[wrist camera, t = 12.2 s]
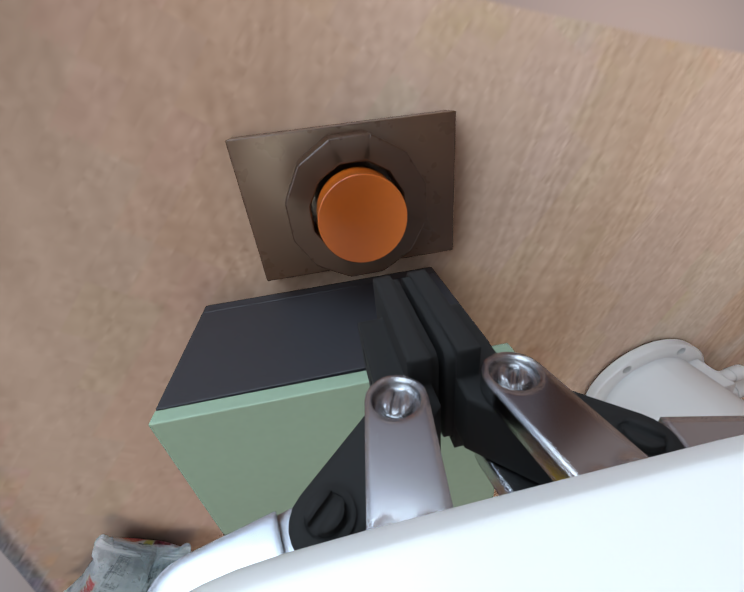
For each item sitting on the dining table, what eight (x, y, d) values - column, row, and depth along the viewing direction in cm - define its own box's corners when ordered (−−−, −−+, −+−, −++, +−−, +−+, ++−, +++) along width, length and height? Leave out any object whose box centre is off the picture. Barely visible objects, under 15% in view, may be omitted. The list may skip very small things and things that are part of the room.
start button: (395, 161, 17) (405, 167, 15) (400, 242, 19) (409, 255, 17) (308, 173, 16) (309, 181, 15) (324, 254, 19) (326, 269, 17)
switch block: (445, 110, 19) (472, 111, 16) (444, 241, 23) (465, 262, 20) (230, 137, 18) (215, 144, 15) (269, 270, 22) (264, 297, 19)
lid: (507, 342, 16) (516, 352, 16) (486, 495, 23) (491, 507, 23) (155, 410, 15) (147, 425, 14) (246, 551, 22) (244, 565, 21)
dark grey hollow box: (431, 266, 24) (489, 342, 16) (432, 399, 31) (474, 494, 23) (205, 305, 22) (155, 409, 15) (261, 435, 30) (246, 550, 22)
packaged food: (66, 573, 35) (34, 638, 30) (110, 513, 31) (81, 577, 27) (154, 581, 38) (136, 640, 34) (202, 528, 35) (189, 586, 31)
